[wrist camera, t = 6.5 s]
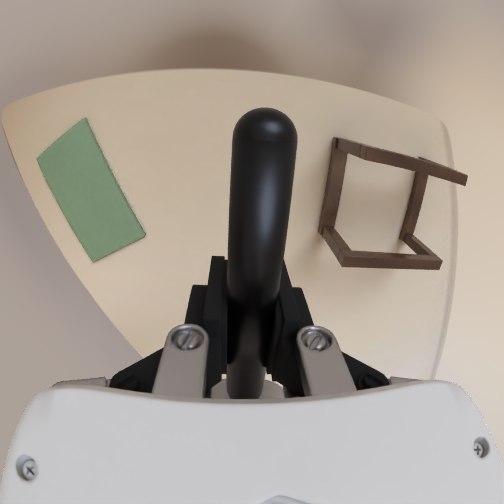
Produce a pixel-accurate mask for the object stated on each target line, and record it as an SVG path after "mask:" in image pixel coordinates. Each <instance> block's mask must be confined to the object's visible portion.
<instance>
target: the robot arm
mask: <svg viewBox="0 0 504 504" xmlns="http://www.w3.org/2000/svg"><path fill="white" fill-rule="evenodd" d="M227 268H228V260H225V257H224V256H212V259H211V265H210V272H209V279H208V285H193V286H192V290H191V294H190V299H189V304H188V308H187V313H186V318H185V323H184V324H183V325H179V326H177V327H175V328H173V329H172V330H171V331H170V332H169V333H168V335H167V338H166V342H165V345H164V348H162V349H160V350H158V351H156V352H155V353H153V354H151V355H149V356H147V357H146V358H144V359H142V360H140V361H138V362H136V363H135V364H133V365H131V366H129V367H127V368H125V369H124V370H122V371H120V372H118V373H117V374H115V375H114V376H113V378H112V379H109V380H106V378H105V377H100V378H91V379H81V380H70V381H61V382H57V383H56V384H54V385H53V386H52V387H50V388H47V389H44V390H42V391H40V392H39V393H37V394H36V395H35V396H34V397H33V398H32V400H31V401H30V402H29V404H28V405H27V407H26V409H25V411H24V413H23V414H22V416H21V419H20V421H19V423H18V426H17V428H16V431H15V433H14V436H13V438H12V441H11V444H10V447H9V451H8V454H7V458H6V462H5V466H4V470H3V474H2V479H1V484H0V504H504V467H503V464H502V461H501V459H500V456H499V453H498V451H497V448H496V445H495V443H494V440H493V438H492V436H491V433H490V431H489V429H488V427H487V425H486V423H485V421H484V419H483V417H482V415H481V413H480V411H479V410H478V408H477V406H476V404H475V403H474V401H473V400H472V398H471V397H470V395H469V394H468V393H467V392H466V391H465V390H464V389H463V388H462V387H461V386H459V385H457V384H455V383H452V382H448V381H440V380H417V379H408V378H399V377H390V379H387V378H386V377H385V375H384V374H382V373H381V372H379V371H377V370H375V369H373V368H372V367H370V366H368V365H366V364H364V363H362V362H360V361H358V360H356V359H355V358H353V357H351V356H349V355H347V354H345V353H344V352H342V351H341V350H340V347H339V345H338V342H337V340H336V338H335V336H334V335H333V333H332V332H330V331H329V330H328V329H326V328H324V327H320V326H314V324H313V321H312V318H311V315H310V312H309V309H308V306H307V303H306V300H305V297H304V294H303V291H302V288H300V287H292V285H291V282H290V279H289V275H288V272H287V268H286V265H285V262H284V259H283V266H282V273H281V280H280V287H279V293H278V300H277V306H276V309H275V314H274V321H273V327H272V333H271V339H270V346H269V352H268V358H267V363H266V372H267V374H271V375H272V381H277V382H279V383H280V384H282V385H283V393H284V398H277V399H212V387H214V386H215V385H216V384H218V383H219V382H221V379H222V374H227V320H228V305H227Z"/></svg>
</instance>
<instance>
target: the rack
mask: <svg viewBox="0 0 504 504" xmlns="http://www.w3.org/2000/svg"><path fill="white" fill-rule="evenodd" d="M348 153H349V154H352V155H354V156H357V157H359V158H362V159H364V160H368V161H373V162H377V163H382V164H387V165H391V166H395V167H400V168H404V169H408V170H412V171H416V175H415V180H414V184H413V189H412V193H411V197H410V201H409V205H408V209H407V213H406V217H405V221H404V224H403V228H402V231H401V235H400V238H399V239H400V240H401V241H404V242H405V243H406V244H407V245H408V246H409V247H410V248H411V249H412V250H413V251H414V252H415V253H416V254H417V255H415V254H400V253H384V252H367V251H351V249H350V248H349V247H348V245H347V244H346V243H345V241H344V240H343V239H342V237H341V236H340V235H339V233H338V232H337V231H336V230H335V228H334V226H335V221H336V216H337V211H338V206H339V201H340V195H341V190H342V184H343V178H344V172H345V166H346V160H347V154H348ZM428 175H430V176H434V177H438V178H441V179H444V180H448V181H451V182H454V183H457V184H460V185H463V186H465V185H466V182H467V177H468V176H467V175H465V174H463V173H461V172H458V171H456V170H454V169H451V168H449V167H446V166H443V165H441V164H438V163H435V162H433V161H430V160H427V159H424V158H421V157H419V159H418V158H414V157H411V156H407V155H404V154H400V153H396V152H392V151H388V150H384V149H380V148H376V147H372V146H368V145H365V144H361V143H358V142H354V141H351V140H347V139H342V138H337V137H334V138H333V146H332V153H331V160H330V166H329V173H328V179H327V186H326V192H325V197H324V203H323V209H322V214H321V220H320V225H319V231H318V232H319V234H320V235H322V236H323V238H324V239H325V241H326V242H327V244H328V245H329V247H330V248H331V250H332V252H333V253H334V255H335V256H336V258H337V260H338V261H339V263H340V265H341V266H342V267H360V268H390V269H425V270H439V269H440V267H441V264H442V262H443V261H442V260H441V259H440V258H439V257H438V256H437V255H436V254H434V253H433V252H432V251H431V250H430V249H429V248H428V247H427V246H425V245H424V244H423V243H422V242H421V241H420V240H419V239H417V238H416V237H415V236H414V235H413V233H414V229H415V226H416V223H417V219H418V215H419V212H420V208H421V204H422V200H423V196H424V192H425V188H426V183H427V179H428Z"/></svg>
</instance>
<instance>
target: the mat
mask: <svg viewBox="0 0 504 504" xmlns="http://www.w3.org/2000/svg"><path fill="white" fill-rule="evenodd" d="M37 161H38V164H39V166H40V168H41V170H42V172H43V174H44V177H45V179H46V181H47V183H48V185H49V187H50V189H51V191H52V193H53V195H54V197H55V199H56V201H57V202H58V204H59V206H60V208H61V210H62V212H63V214H64V215H65V217H66V219H67V221H68V222H69V224H70V226H71V228H72V229H73V231H74V233H75V234H76V236H77V238H78V239H79V241H80V243H81V244H82V246H83V247H84V249H85V251H86V252H87V254H88V255H89V257H90V258H91V260H92V261H93V262H95V261H97V260H99V259H101V258H103V257H105V256H106V255H108V254H110V253H112V252H114V251H116V250H118V249H120V248H122V247H124V246H126V245H128V244H130V243H132V242H134V241H136V240H138V239H140V238H142V237H144V236H145V235H146V234H145V232H144V230H143V229H142V227H141V225H140V224H139V222H138V220H137V218H136V217H135V215H134V213H133V211H132V209H131V208H130V206H129V204H128V202H127V200H126V199H125V197H124V195H123V193H122V191H121V189H120V187H119V185H118V184H117V182H116V180H115V178H114V176H113V174H112V172H111V170H110V168H109V166H108V164H107V162H106V160H105V158H104V156H103V154H102V152H101V150H100V148H99V145H98V143H97V141H96V139H95V137H94V135H93V133H92V130H91V128H90V126H89V124H88V121H87V119H86V118H83V119H82V120H81V121H79V122H78V123H77V124H76V125H74V126H73V127H72V128H71V129H69V130H68V131H67V132H66V133H65V134H63V135H62V136H61V137H60V138H59V139H58V140H57V141H55V142H54V143H53V144H52V145H51V146H50V147H49V148H48V149H47V150H45V151H44V152H43V153H42V154H41V155H40V156H39V157H38V158H37Z"/></svg>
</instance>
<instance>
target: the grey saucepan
mask: <svg viewBox="0 0 504 504" xmlns="http://www.w3.org/2000/svg"><path fill="white" fill-rule="evenodd" d="M296 150H297V132H296V129H295V126H294V124H293V123H292V121H291V120H290V119H289V118H288V117H287V116H286V115H285V114H284V113H282V112H280V111H278V110H276V109H272V108H258V109H254V110H251V111H249V112H247V113H246V114H245V115H243V116H242V117H241V118H240V119H239V121H238V122H237V124H236V126H235V128H234V131H233V140H232V159H231V180H230V204H229V232H228V268H227V305H228V320H227V374H226V379H221V382H219V383H218V384H216V385H215V386H214V387H212V399H277V398H284V393H283V388H282V387H281V386H279V385H278V384H276V383H274V382H271V381H268V380H265V373H266V363H267V358H268V352H269V346H270V339H271V333H272V327H273V321H274V314H275V309H276V306H277V300H278V293H279V287H280V280H281V273H282V266H283V259H284V251H285V244H286V236H287V228H288V221H289V212H290V204H291V196H292V187H293V178H294V169H295V160H296Z"/></svg>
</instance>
